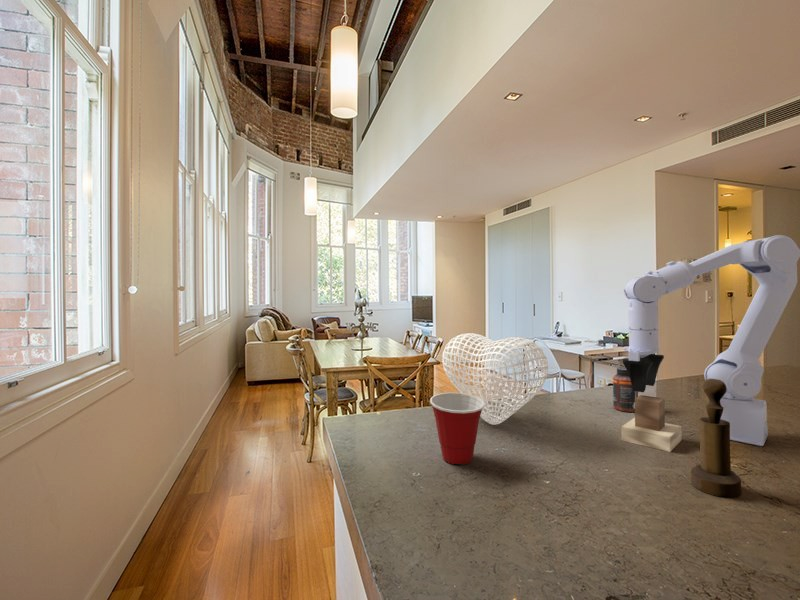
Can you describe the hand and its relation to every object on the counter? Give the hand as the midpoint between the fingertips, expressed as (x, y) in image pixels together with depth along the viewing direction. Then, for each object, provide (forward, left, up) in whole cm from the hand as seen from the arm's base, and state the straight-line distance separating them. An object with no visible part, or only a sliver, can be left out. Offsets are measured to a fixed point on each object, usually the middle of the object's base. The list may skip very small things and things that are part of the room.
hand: (643, 388), depth 90 cm
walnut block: (-2, +5, -7) cm, 9 cm away
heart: (+28, +20, -10) cm, 36 cm away
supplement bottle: (+9, -15, -10) cm, 21 cm away
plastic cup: (+21, +42, -10) cm, 48 cm away
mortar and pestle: (-16, +21, -10) cm, 28 cm away
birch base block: (-3, +5, -10) cm, 11 cm away
